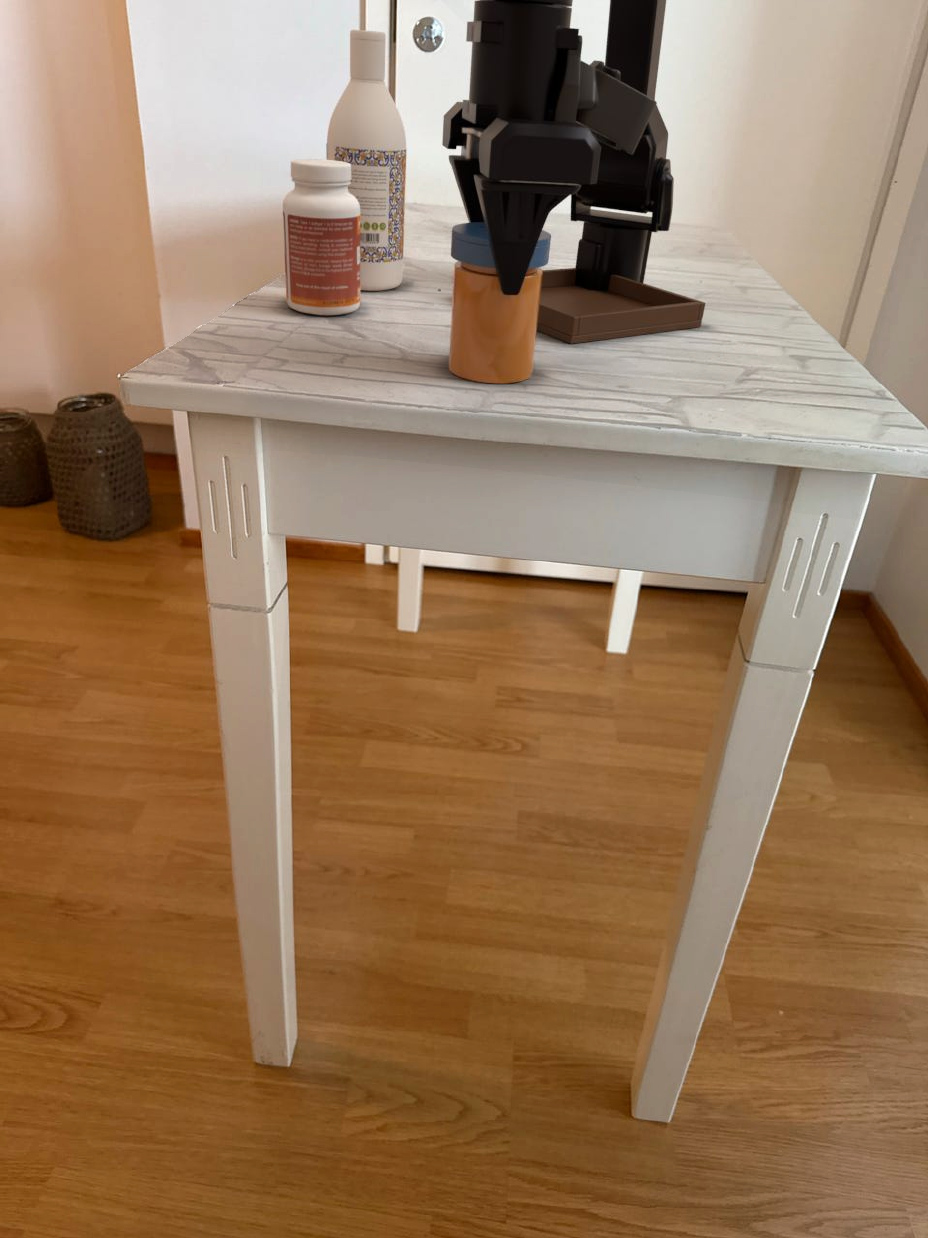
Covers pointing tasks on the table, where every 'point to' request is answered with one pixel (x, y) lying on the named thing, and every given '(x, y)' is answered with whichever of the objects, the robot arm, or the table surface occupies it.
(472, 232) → the lid
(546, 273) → the tray
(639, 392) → the table surface
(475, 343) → the jar
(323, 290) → the pill bottle
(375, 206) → the bath foam
